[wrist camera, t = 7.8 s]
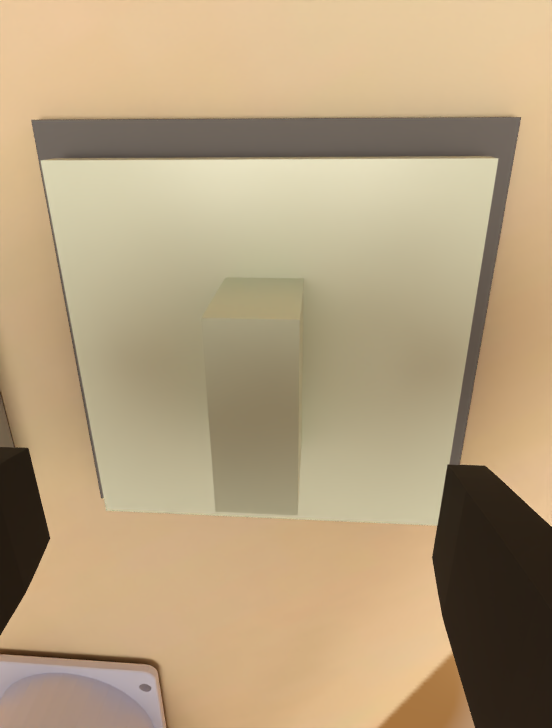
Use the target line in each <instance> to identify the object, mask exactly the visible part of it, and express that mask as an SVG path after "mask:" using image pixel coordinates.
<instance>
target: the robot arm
mask: <svg viewBox="0 0 552 728" xmlns="http://www.w3.org/2000/svg"><path fill="white" fill-rule="evenodd" d="M49 540H50V536H49V531H48V527H47V523H46V519H45V515H44V511H43V507H42V503H41V499H40V494H39V490H38V486H37V482H36V478H35V474H34V470H33V466H32V462H31V457H30V453H29V449H28V448H15V447H0V635H1V633H2V631H3V630H4V628H5V627H6V625H7V623H8V622H9V620H10V618H11V617H12V615H13V613H14V612H15V610H16V608H17V607H18V605H19V603H20V602H21V600H22V598H23V596H24V595H25V593H26V591H27V589H28V587H29V585H30V582H31V580H32V578H33V576H34V574H35V572H36V570H37V568H38V565H39V563H40V561H41V558H42V556H43V554H44V551H45V549H46V547H47V544H48V542H49ZM432 559H433V565H434V571H435V577H436V583H437V589H438V595H439V600H440V606H441V611H442V617H443V620H444V624H445V627H446V631H447V634H448V638H449V641H450V645H451V648H452V651H453V655H454V658H455V662H456V665H457V668H458V672H459V675H460V678H461V682H462V685H463V688H464V692H465V695H466V699H467V702H468V705H469V708H470V712H471V715H472V718H473V722H474V725H475V728H552V527H551V526H550V525H549V524H548V523H547V522H546V521H545V520H544V519H542V518H541V517H540V516H539V515H538V514H537V513H536V512H535V511H534V510H533V509H532V508H531V507H530V506H528V505H527V504H526V503H525V502H524V501H523V500H522V499H521V498H520V497H519V496H518V495H517V494H516V493H515V492H513V491H512V490H511V489H510V488H509V487H508V486H507V485H506V484H505V483H504V482H503V481H502V480H501V479H499V478H498V477H497V476H496V475H495V474H494V473H493V472H492V471H491V470H489V469H488V468H487V467H486V466H475V465H449V464H447V470H446V476H445V483H444V489H443V495H442V501H441V507H440V513H439V519H438V526H437V532H436V538H435V544H434V550H433V556H432ZM0 728H166V722H165V716H164V710H163V703H162V697H161V690H160V684H159V677H158V672H157V670H156V669H155V668H154V667H153V666H151V665H147V664H135V663H120V662H106V661H92V660H78V659H63V658H49V657H35V656H20V655H6V654H0Z"/></svg>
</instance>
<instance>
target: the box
mask: <svg viewBox="0 0 552 728" xmlns="http://www.w3.org/2000/svg"><path fill="white" fill-rule="evenodd" d="M0 447H14V444H13V440H12V437H11V433H10V429H9V425H8V421H7V417H6V414H5V410H4V406H3V402H2V398H1V394H0Z"/></svg>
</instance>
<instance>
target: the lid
mask: <svg viewBox="0 0 552 728" xmlns="http://www.w3.org/2000/svg"><path fill="white" fill-rule="evenodd" d="M498 159H499V158H494V157H490V156H412V157H206V158H54V159H47V160H40V161H41V166H42V171H43V177H44V182H45V187H46V193H47V198H48V203H49V209H50V214H51V219H52V225H53V230H54V235H55V241H56V246H57V251H58V257H59V262H60V267H61V273H62V278H63V283H64V289H65V294H66V299H67V305H68V310H69V315H70V321H71V326H72V331H73V337H74V342H75V347H76V353H77V358H78V363H79V369H80V374H81V379H82V384H83V390H84V395H85V400H86V406H87V411H88V416H89V422H90V427H91V432H92V438H93V443H94V448H95V454H96V459H97V464H98V470H99V475H100V480H101V486H102V491H103V496H104V502H105V507H106V511H125V512H147V513H169V514H191V515H213V516H235V517H257V518H279V519H301V520H323V521H345V522H367V523H389V524H411V525H433V526H438V519H439V513H440V507H441V501H442V495H443V489H444V483H445V476H446V470H447V464H449V463H450V457H451V451H452V445H453V438H454V432H455V426H456V420H457V413H458V407H459V401H460V395H461V389H462V382H463V376H464V370H465V364H466V358H467V351H468V345H469V339H470V333H471V326H472V320H473V314H474V308H475V302H476V295H477V289H478V283H479V277H480V271H481V264H482V258H483V252H484V246H485V239H486V233H487V227H488V221H489V215H490V208H491V202H492V196H493V190H494V183H495V177H496V171H497V165H498Z"/></svg>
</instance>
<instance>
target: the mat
mask: <svg viewBox="0 0 552 728" xmlns="http://www.w3.org/2000/svg"><path fill="white" fill-rule="evenodd" d="M520 120H521V117H490V118H300V119H110V120H31V121H32V127H33V132H34V137H35V143H36V148H37V154H38V159H39V164H40V170H41V175H42V181H43V186H44V191H45V197H46V202H47V208H48V213H49V218H50V224H51V229H52V235H53V240H54V245H55V251H56V256H57V262H58V267H59V272H60V278H61V283H62V289H63V294H64V299H65V305H66V310H67V316H68V321H69V326H70V332H71V337H72V343H73V348H74V354H75V359H76V364H77V370H78V375H79V381H80V386H81V391H82V397H83V402H84V408H85V413H86V418H87V424H88V429H89V435H90V440H91V445H92V451H93V456H94V462H95V467H96V472H97V478H98V483H99V489H100V494H101V498H104V496H103V491H102V486H101V480H100V475H99V470H98V464H97V459H96V454H95V448H94V443H93V438H92V432H91V427H90V422H89V416H88V411H87V406H86V400H85V395H84V390H83V384H82V379H81V374H80V369H79V363H78V358H77V353H76V347H75V342H74V337H73V331H72V326H71V321H70V315H69V310H68V305H67V299H66V294H65V289H64V283H63V278H62V273H61V267H60V262H59V257H58V251H57V246H56V241H55V235H54V230H53V225H52V219H51V214H50V209H49V203H48V198H47V193H46V187H45V182H44V177H43V171H42V166H41V161H40V160H47V159H54V158H206V157H412V156H490V157H494V158H499V159H498V165H497V171H496V177H495V183H494V190H493V196H492V202H491V208H490V215H489V221H488V227H487V233H486V239H485V246H484V252H483V258H482V264H481V271H480V277H479V283H478V289H477V295H476V302H475V308H474V314H473V320H472V326H471V333H470V339H469V345H468V351H467V358H466V364H465V370H464V376H463V382H462V389H461V395H460V401H459V407H458V413H457V420H456V426H455V432H454V438H453V445H452V451H451V457H450V463H449V465H460V460H461V454H462V448H463V443H464V437H465V431H466V426H467V420H468V414H469V409H470V403H471V397H472V392H473V386H474V380H475V375H476V369H477V363H478V358H479V352H480V346H481V341H482V335H483V329H484V324H485V318H486V313H487V307H488V301H489V296H490V290H491V284H492V279H493V273H494V267H495V262H496V256H497V250H498V245H499V239H500V233H501V228H502V222H503V216H504V211H505V205H506V199H507V194H508V188H509V182H510V177H511V171H512V165H513V160H514V154H515V148H516V143H517V137H518V131H519V126H520Z"/></svg>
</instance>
